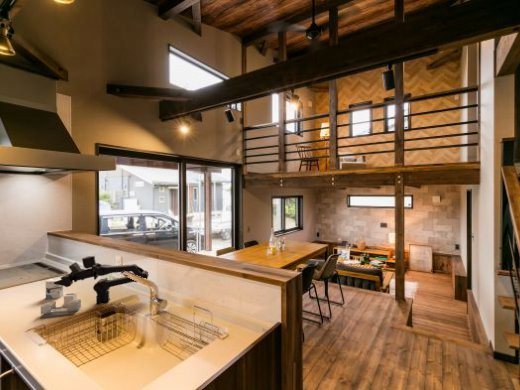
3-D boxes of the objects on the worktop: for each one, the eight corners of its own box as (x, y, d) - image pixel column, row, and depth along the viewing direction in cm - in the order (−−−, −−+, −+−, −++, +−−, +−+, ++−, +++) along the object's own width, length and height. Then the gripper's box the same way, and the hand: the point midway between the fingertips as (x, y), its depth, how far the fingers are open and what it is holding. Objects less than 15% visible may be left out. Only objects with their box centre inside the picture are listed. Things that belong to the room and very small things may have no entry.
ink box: (45, 299, 179) (45, 281, 179) (48, 296, 184) (48, 279, 183) (60, 297, 181) (60, 280, 181) (63, 295, 186) (63, 278, 186)
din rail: (82, 306, 168) (82, 297, 167) (75, 314, 156) (74, 304, 156) (48, 309, 163) (48, 300, 163) (38, 319, 151) (37, 308, 151)
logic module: (76, 301, 175) (76, 291, 175) (73, 305, 170) (72, 295, 170) (67, 302, 174) (67, 292, 174) (63, 306, 168) (63, 296, 168)
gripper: (88, 258, 180) (61, 263, 176) (76, 266, 162) (46, 272, 158) (91, 274, 181) (65, 280, 177) (81, 283, 163) (51, 291, 159)
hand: (57, 280), depth 168 cm, fingers open, 9 cm apart
